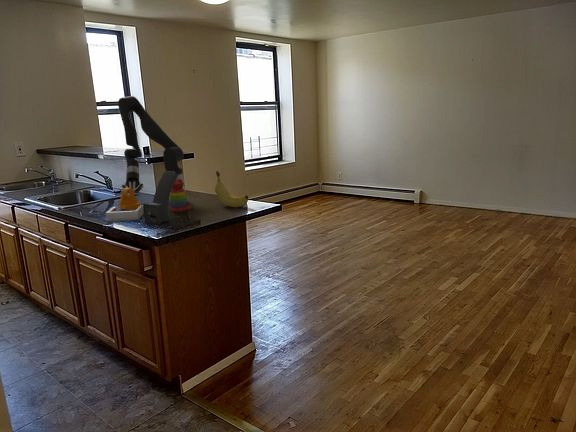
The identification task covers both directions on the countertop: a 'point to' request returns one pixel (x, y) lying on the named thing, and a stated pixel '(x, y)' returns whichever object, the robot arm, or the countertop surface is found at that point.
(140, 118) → the robot arm
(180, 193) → the stacking bear
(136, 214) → the bracket
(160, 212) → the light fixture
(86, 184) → the countertop surface
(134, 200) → the orange tapered block
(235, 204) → the banana
